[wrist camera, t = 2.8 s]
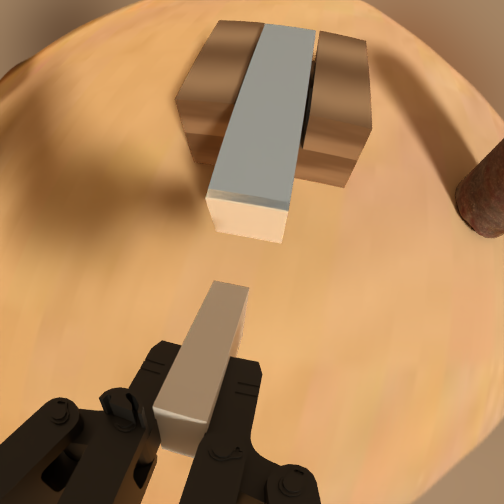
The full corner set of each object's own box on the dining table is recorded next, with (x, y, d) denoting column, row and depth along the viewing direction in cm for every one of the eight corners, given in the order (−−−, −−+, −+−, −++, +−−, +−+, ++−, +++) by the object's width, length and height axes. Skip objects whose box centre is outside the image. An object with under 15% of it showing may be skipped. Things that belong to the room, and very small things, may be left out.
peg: (281, 243, 21) (287, 212, 16) (216, 231, 21) (205, 198, 16) (309, 69, 26) (315, 30, 21) (264, 62, 26) (265, 23, 22)
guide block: (344, 187, 27) (372, 129, 19) (194, 162, 28) (174, 99, 20) (348, 99, 31) (365, 41, 23) (225, 79, 32) (219, 20, 24)
